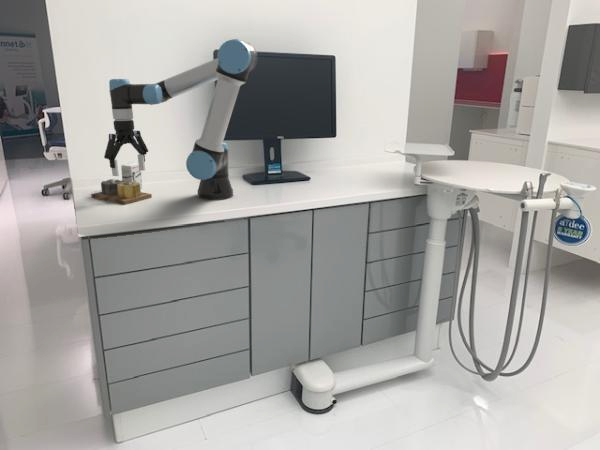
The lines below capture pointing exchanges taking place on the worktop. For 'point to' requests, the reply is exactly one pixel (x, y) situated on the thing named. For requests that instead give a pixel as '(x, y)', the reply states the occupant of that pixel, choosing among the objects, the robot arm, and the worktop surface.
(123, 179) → the ink box
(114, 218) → the worktop surface
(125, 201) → the gear board
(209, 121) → the robot arm
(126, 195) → the brass gear
